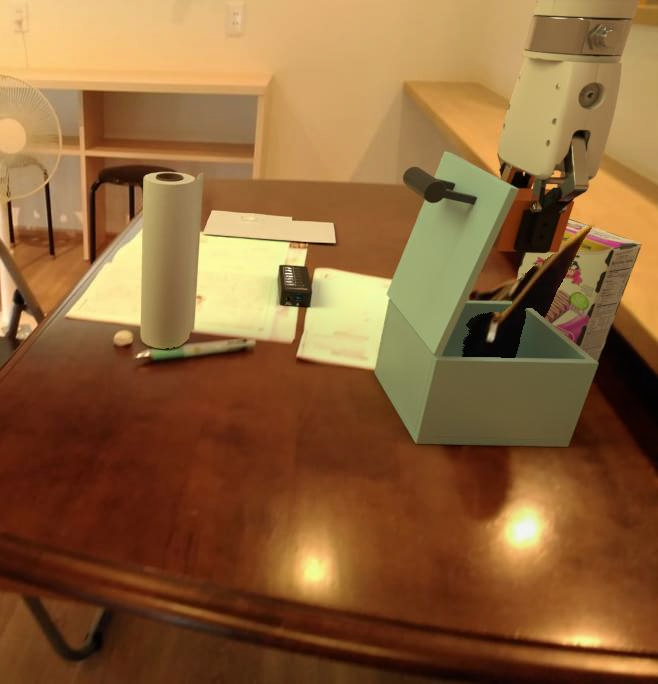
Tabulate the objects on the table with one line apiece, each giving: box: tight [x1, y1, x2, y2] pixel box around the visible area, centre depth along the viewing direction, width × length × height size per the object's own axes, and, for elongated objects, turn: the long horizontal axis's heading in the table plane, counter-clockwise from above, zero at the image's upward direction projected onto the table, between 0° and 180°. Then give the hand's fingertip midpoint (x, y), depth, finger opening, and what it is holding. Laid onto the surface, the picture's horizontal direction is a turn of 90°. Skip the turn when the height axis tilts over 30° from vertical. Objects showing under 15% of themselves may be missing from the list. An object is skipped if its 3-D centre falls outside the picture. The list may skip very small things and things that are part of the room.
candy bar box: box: [515, 218, 643, 363], centre depth 85 cm, size 11×5×16 cm, turn 22°
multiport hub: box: [277, 264, 313, 308], centre depth 104 cm, size 4×11×2 cm, turn 172°
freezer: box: [373, 298, 599, 448], centre depth 74 cm, size 16×15×10 cm
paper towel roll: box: [139, 171, 205, 350], centre depth 85 cm, size 7×6×21 cm
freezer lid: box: [386, 151, 519, 356], centre depth 68 cm, size 16×15×6 cm
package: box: [491, 188, 575, 253], centre depth 67 cm, size 6×4×5 cm
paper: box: [202, 209, 337, 244], centre depth 133 cm, size 25×17×1 cm
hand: (517, 240), depth 68 cm, fingers closed on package, 4 cm apart
